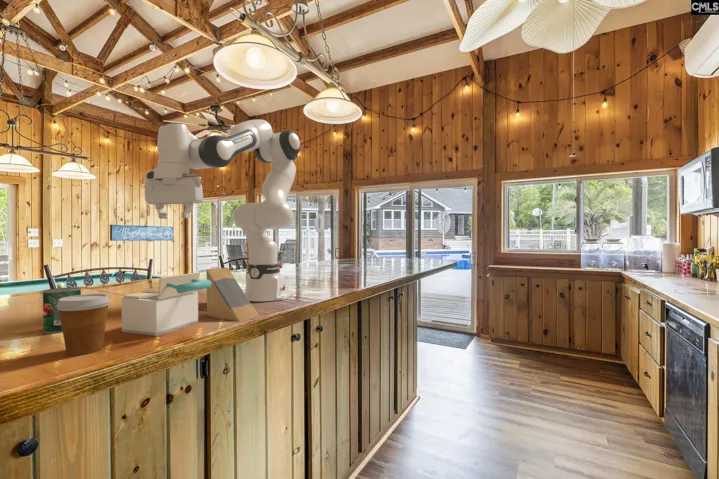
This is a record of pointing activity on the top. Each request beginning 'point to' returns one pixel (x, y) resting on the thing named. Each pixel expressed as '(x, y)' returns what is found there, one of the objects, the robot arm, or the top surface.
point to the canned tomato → (50, 310)
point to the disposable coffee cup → (83, 322)
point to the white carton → (159, 314)
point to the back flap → (142, 294)
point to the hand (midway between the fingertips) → (174, 218)
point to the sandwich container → (227, 297)
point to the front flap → (180, 285)
